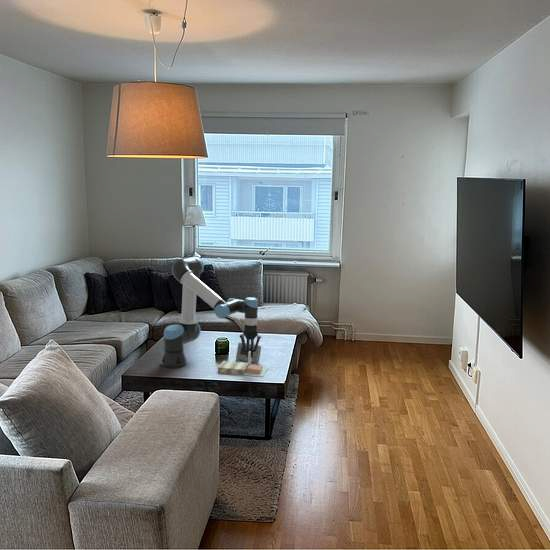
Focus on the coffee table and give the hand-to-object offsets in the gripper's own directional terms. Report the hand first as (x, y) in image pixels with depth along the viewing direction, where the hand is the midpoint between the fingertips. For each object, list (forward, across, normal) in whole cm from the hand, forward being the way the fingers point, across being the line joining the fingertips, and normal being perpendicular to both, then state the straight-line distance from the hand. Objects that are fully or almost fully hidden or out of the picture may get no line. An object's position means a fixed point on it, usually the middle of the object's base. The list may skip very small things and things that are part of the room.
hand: (249, 362), depth 323 cm
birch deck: (+6, -10, 0) cm, 11 cm away
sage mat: (+6, +4, 0) cm, 7 cm away
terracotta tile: (+5, +3, 0) cm, 6 cm away
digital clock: (+6, -5, +19) cm, 20 cm away
